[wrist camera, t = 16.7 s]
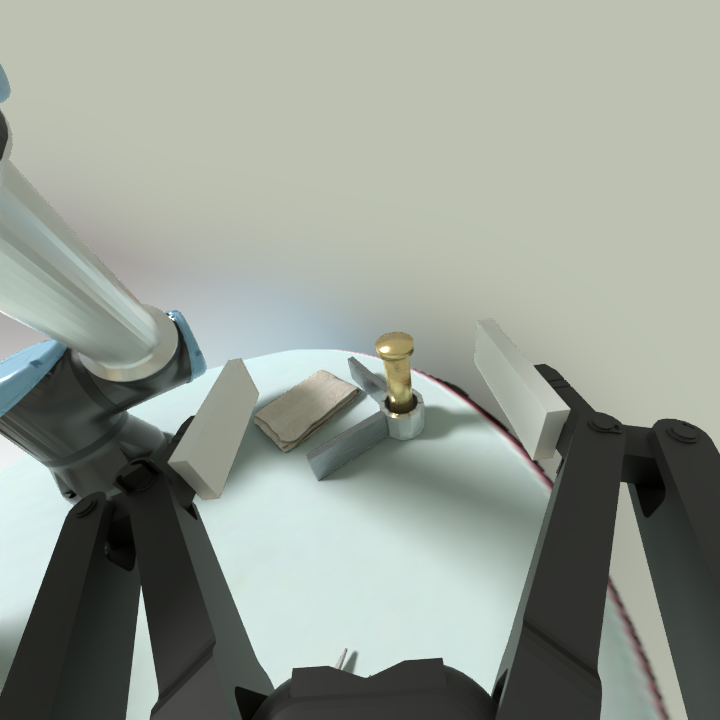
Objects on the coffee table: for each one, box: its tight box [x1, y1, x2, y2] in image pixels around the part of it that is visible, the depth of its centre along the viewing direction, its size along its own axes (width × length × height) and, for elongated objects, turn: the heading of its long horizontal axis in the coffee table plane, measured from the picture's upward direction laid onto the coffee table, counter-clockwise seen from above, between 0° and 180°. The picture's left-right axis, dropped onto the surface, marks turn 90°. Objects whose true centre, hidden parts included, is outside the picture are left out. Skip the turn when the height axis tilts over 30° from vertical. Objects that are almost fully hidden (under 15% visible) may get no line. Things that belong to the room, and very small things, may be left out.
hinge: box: [306, 357, 425, 481], centre depth 49 cm, size 20×20×5 cm
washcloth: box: [254, 370, 361, 452], centre depth 54 cm, size 12×18×3 cm, turn 136°
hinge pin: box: [376, 332, 414, 415], centre depth 43 cm, size 5×5×16 cm
